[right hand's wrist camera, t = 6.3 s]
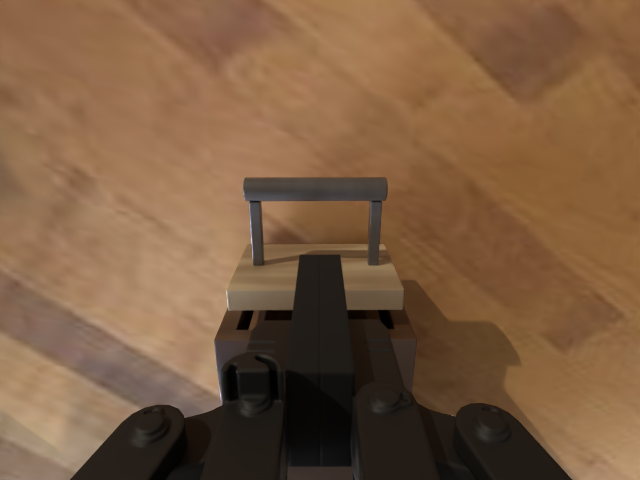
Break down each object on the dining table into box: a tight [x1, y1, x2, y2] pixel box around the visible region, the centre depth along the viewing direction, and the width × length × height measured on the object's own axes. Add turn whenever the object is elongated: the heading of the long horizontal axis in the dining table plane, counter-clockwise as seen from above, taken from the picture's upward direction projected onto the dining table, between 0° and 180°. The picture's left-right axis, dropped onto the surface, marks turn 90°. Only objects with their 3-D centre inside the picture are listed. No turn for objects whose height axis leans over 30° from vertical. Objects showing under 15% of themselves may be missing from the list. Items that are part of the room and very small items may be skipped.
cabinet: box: [214, 307, 417, 480], centre depth 27 cm, size 16×10×8 cm, turn 0°
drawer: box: [226, 177, 404, 330], centre depth 25 cm, size 20×9×6 cm, turn 0°
